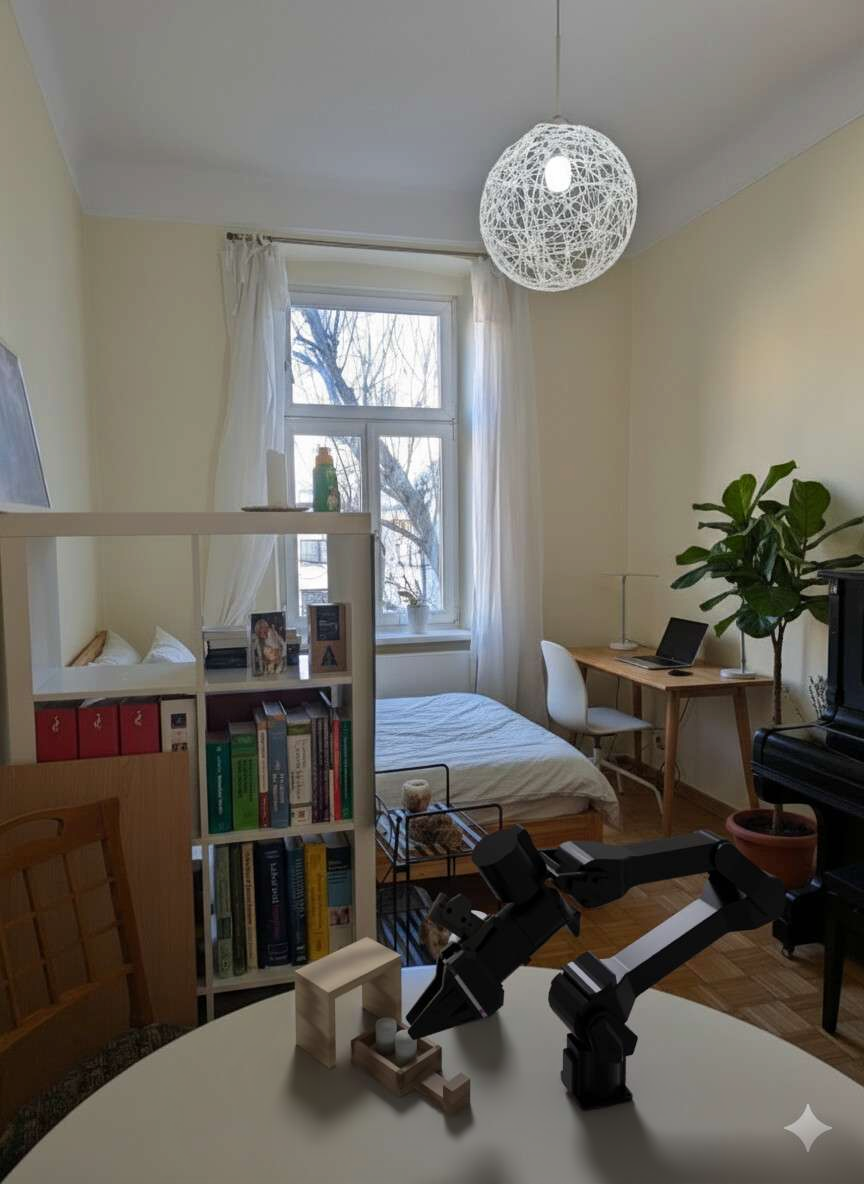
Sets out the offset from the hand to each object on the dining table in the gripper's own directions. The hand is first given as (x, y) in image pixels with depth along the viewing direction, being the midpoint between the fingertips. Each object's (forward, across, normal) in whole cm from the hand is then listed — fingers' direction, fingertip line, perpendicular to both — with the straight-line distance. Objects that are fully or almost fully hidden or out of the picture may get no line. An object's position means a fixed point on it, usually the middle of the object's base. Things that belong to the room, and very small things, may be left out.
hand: (408, 1028), depth 86 cm
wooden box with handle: (+4, -14, +6) cm, 16 cm away
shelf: (+8, -23, -1) cm, 24 cm away
